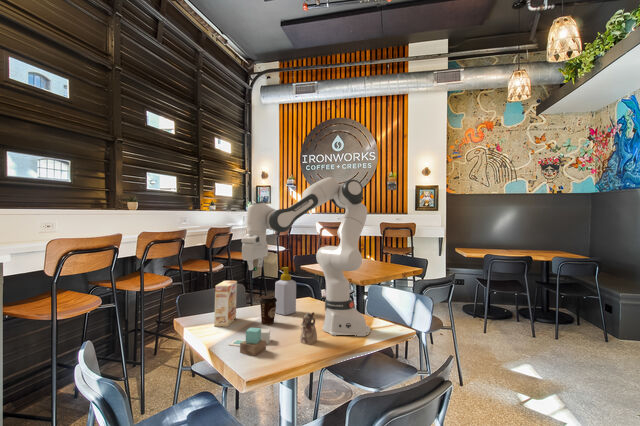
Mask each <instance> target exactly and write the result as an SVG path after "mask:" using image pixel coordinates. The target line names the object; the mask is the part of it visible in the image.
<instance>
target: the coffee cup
mask: <svg viewBox="0 0 640 426" xmlns="http://www.w3.org/2000/svg"><path fill="white" fill-rule="evenodd" d="M276 301H277V299H276V298H275V295H263V296H261V299H260V300H259V303H260V304H259V305H260V318H261V319H260V320H261V325H264V326H268V325H269V326H270V325H273V324H275V319H276V318H275V317H276V313H275V311H276Z"/></svg>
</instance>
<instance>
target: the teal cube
mask: <svg viewBox="0 0 640 426" xmlns="http://www.w3.org/2000/svg"><path fill="white" fill-rule="evenodd" d="M261 329H262V328H261V327H249V328H247V330H246V331H245V340H246V343H253V344H257V343H258V342H259V341H260V340H261Z"/></svg>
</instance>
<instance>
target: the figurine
mask: <svg viewBox="0 0 640 426" xmlns="http://www.w3.org/2000/svg"><path fill="white" fill-rule="evenodd" d="M315 314H316V313H315V312H313V311H312V313H310V312H307V313H305V314H304V315H303V319H302V323H300V325H301V327H302V328H301V333H300V337H299V339H300V340H299V343H301V344H303V345H315V344H316V343H317V340H318V335H317V334H318V332H317V328H316V326H315V325H316V318H315V317H314V316H315Z"/></svg>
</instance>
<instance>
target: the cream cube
mask: <svg viewBox="0 0 640 426" xmlns="http://www.w3.org/2000/svg"><path fill="white" fill-rule="evenodd" d="M261 340H266V344H269V343H270V340H271V329H270V328H261Z"/></svg>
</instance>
